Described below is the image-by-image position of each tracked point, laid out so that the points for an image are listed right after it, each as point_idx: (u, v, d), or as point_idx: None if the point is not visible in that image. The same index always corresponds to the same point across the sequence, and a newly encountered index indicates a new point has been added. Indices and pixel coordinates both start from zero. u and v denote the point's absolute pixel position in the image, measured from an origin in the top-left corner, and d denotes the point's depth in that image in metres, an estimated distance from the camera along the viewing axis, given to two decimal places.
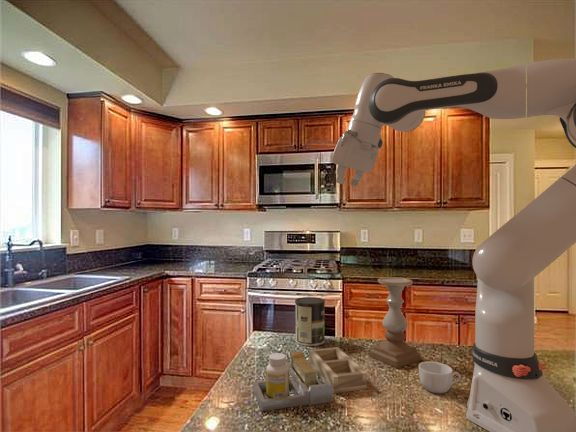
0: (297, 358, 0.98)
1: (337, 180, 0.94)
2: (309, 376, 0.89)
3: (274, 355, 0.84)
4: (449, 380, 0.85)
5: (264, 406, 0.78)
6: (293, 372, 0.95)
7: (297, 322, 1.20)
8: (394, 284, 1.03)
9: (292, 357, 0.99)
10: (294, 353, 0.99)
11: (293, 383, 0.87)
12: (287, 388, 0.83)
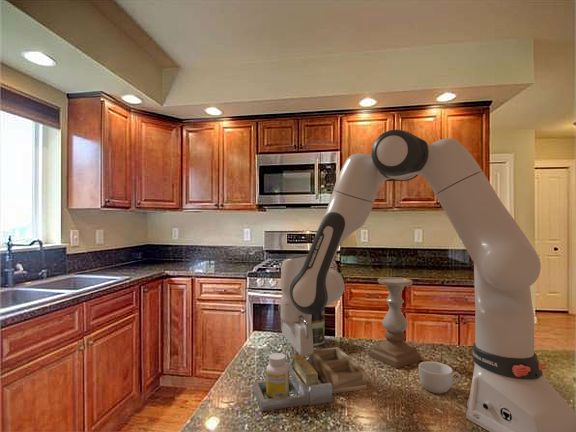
0: (298, 359, 0.96)
1: None
2: (310, 378, 0.88)
3: (274, 355, 0.84)
4: (449, 380, 0.85)
5: (264, 406, 0.78)
6: (293, 372, 0.95)
7: None
8: (394, 284, 1.03)
9: (293, 359, 0.98)
10: (295, 355, 0.98)
11: (293, 383, 0.87)
12: (287, 388, 0.83)
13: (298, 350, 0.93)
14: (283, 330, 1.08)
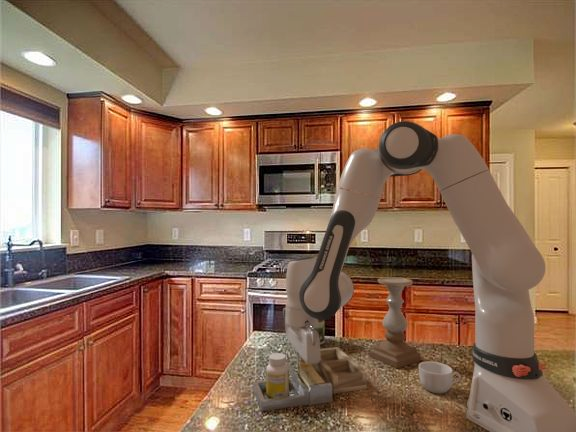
0: (303, 367, 0.92)
1: None
2: None
3: (274, 355, 0.84)
4: (449, 380, 0.85)
5: (264, 406, 0.78)
6: (293, 372, 0.95)
7: None
8: (394, 284, 1.03)
9: (299, 366, 0.93)
10: (301, 362, 0.93)
11: (293, 383, 0.87)
12: (287, 388, 0.83)
13: (304, 357, 0.88)
14: (288, 335, 1.03)
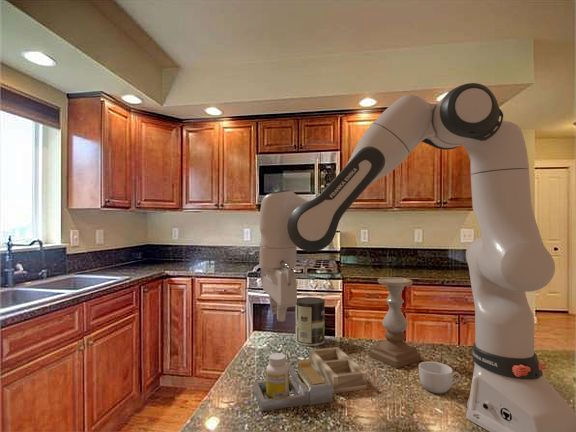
0: (303, 367, 0.92)
1: (279, 318, 0.81)
2: None
3: (274, 355, 0.84)
4: (449, 380, 0.85)
5: (264, 406, 0.78)
6: (293, 372, 0.95)
7: (297, 322, 1.20)
8: (394, 284, 1.03)
9: (299, 366, 0.93)
10: (301, 362, 0.93)
11: (293, 383, 0.87)
12: (287, 388, 0.83)
13: (278, 300, 0.76)
14: (264, 284, 0.91)
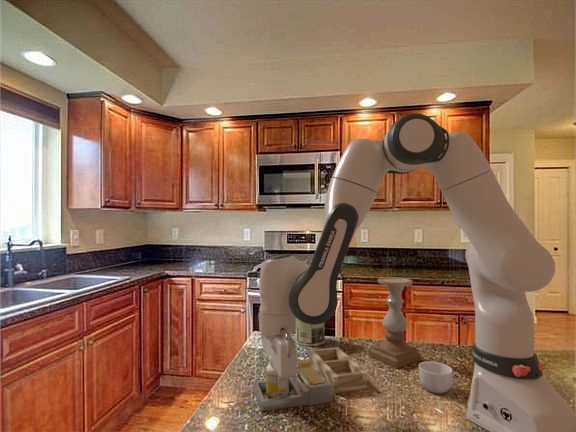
0: (303, 367, 0.92)
1: (280, 386, 0.80)
2: None
3: None
4: (449, 380, 0.85)
5: (264, 406, 0.78)
6: None
7: (297, 322, 1.20)
8: (394, 284, 1.03)
9: (299, 366, 0.93)
10: (301, 362, 0.93)
11: (293, 383, 0.87)
12: (287, 388, 0.83)
13: (278, 371, 0.76)
14: (263, 344, 0.91)
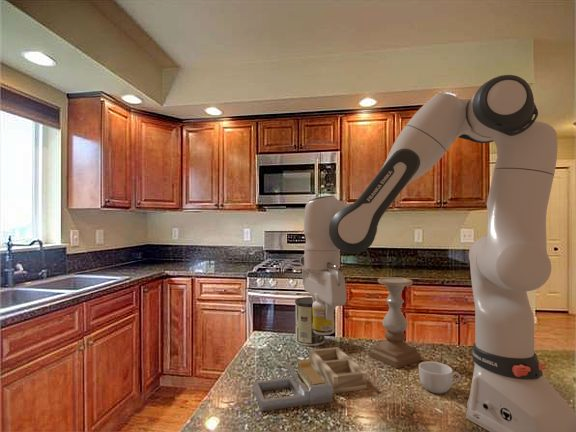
0: (303, 367, 0.92)
1: (328, 318, 0.85)
2: None
3: None
4: (449, 380, 0.85)
5: (264, 406, 0.78)
6: (293, 372, 0.95)
7: (297, 322, 1.20)
8: (394, 284, 1.03)
9: (299, 366, 0.93)
10: (301, 362, 0.93)
11: (293, 383, 0.87)
12: (333, 322, 0.88)
13: (328, 300, 0.81)
14: (306, 286, 0.96)
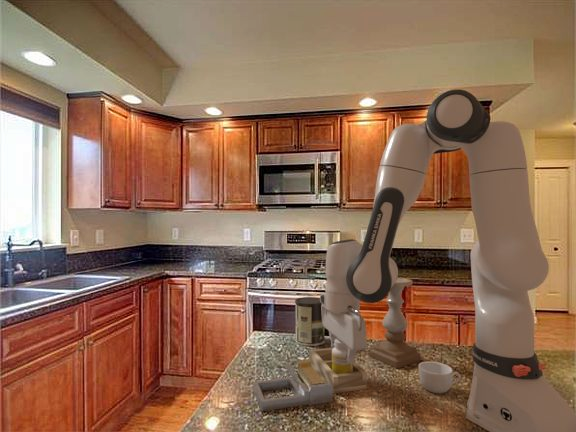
0: (303, 367, 0.92)
1: (349, 361, 0.87)
2: None
3: (338, 340, 0.92)
4: (449, 380, 0.85)
5: (264, 406, 0.78)
6: (293, 372, 0.95)
7: (297, 322, 1.20)
8: (394, 284, 1.03)
9: (299, 366, 0.93)
10: (301, 362, 0.93)
11: (293, 383, 0.87)
12: (352, 369, 0.91)
13: (349, 343, 0.84)
14: (325, 323, 0.98)
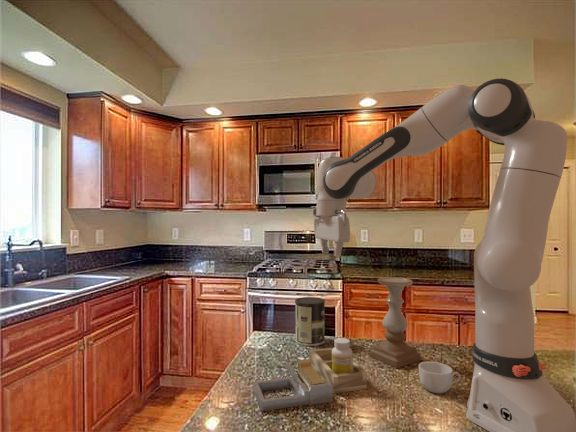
0: (303, 367, 0.92)
1: (336, 255, 1.04)
2: None
3: (338, 340, 0.92)
4: (449, 380, 0.85)
5: (264, 406, 0.78)
6: (293, 372, 0.95)
7: (297, 322, 1.20)
8: (394, 284, 1.03)
9: (299, 366, 0.93)
10: (301, 362, 0.93)
11: (293, 383, 0.87)
12: (352, 369, 0.91)
13: (336, 237, 1.01)
14: (317, 233, 1.16)
